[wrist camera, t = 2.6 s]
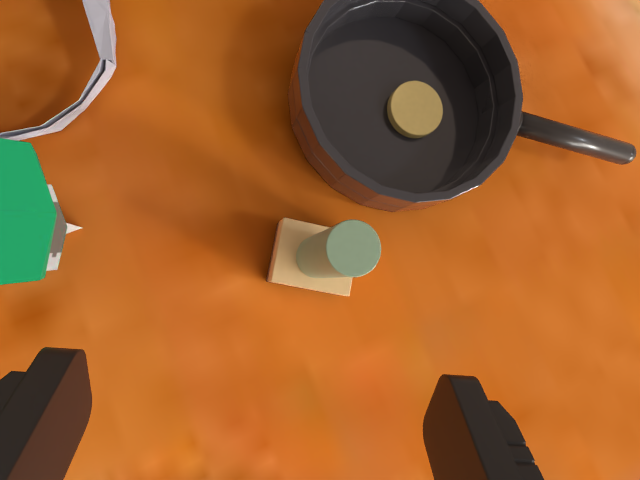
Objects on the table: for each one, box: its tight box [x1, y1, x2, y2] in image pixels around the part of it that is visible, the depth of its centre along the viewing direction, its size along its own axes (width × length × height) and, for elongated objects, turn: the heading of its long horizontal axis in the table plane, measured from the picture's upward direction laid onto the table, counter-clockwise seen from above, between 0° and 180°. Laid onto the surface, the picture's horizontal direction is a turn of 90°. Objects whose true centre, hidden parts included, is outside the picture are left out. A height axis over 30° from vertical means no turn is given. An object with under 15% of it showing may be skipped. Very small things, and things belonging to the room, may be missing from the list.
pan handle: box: [517, 111, 636, 165], centre depth 33 cm, size 11×2×2 cm, turn 78°
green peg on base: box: [266, 217, 381, 296], centre depth 26 cm, size 5×4×11 cm
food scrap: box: [387, 81, 443, 138], centre depth 33 cm, size 4×4×1 cm
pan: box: [288, 0, 523, 212], centre depth 32 cm, size 15×15×4 cm
